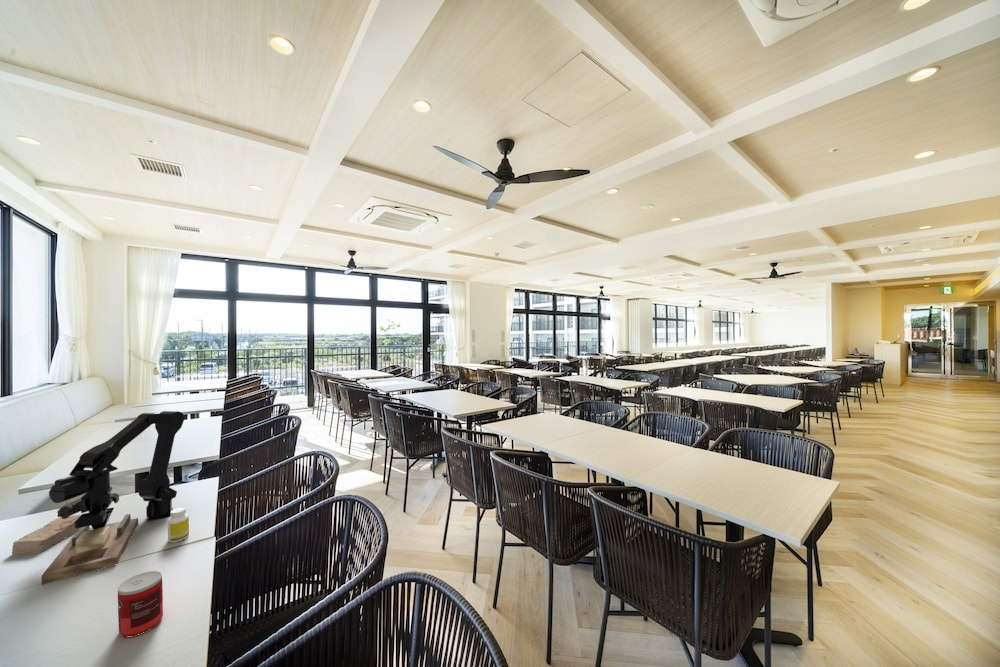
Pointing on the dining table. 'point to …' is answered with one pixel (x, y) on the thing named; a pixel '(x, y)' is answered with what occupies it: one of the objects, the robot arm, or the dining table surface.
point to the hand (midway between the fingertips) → (99, 534)
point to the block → (92, 539)
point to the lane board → (91, 552)
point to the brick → (45, 536)
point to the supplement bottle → (178, 525)
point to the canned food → (140, 603)
